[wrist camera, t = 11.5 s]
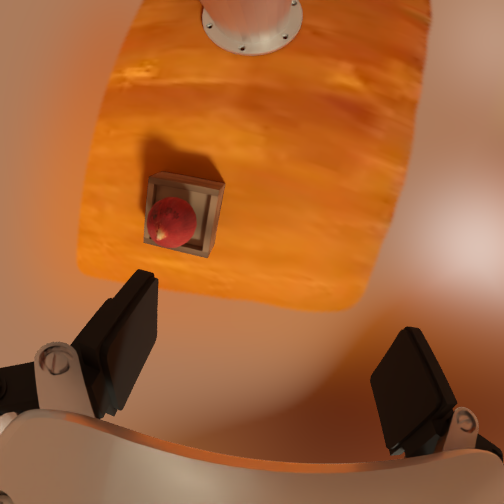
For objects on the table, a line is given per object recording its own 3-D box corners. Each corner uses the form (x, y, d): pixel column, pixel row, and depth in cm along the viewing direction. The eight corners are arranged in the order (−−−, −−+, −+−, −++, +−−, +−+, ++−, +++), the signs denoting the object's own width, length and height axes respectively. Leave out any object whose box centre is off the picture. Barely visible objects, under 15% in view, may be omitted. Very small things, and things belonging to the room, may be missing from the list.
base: (161, 171, 36) (148, 176, 32) (225, 183, 36) (219, 190, 32) (155, 231, 40) (143, 242, 36) (213, 245, 40) (207, 258, 36)
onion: (152, 203, 35) (124, 221, 27) (190, 183, 33) (167, 196, 26) (173, 242, 36) (150, 268, 29) (210, 225, 35) (194, 248, 28)
